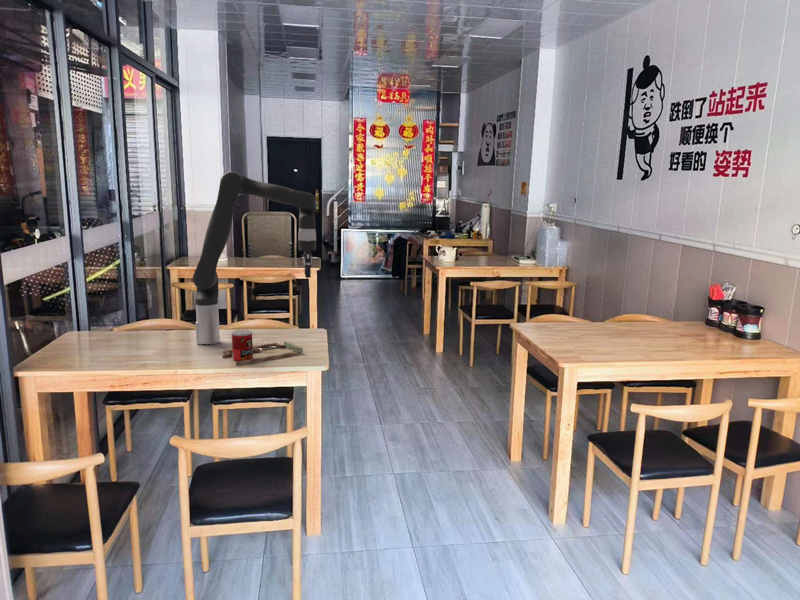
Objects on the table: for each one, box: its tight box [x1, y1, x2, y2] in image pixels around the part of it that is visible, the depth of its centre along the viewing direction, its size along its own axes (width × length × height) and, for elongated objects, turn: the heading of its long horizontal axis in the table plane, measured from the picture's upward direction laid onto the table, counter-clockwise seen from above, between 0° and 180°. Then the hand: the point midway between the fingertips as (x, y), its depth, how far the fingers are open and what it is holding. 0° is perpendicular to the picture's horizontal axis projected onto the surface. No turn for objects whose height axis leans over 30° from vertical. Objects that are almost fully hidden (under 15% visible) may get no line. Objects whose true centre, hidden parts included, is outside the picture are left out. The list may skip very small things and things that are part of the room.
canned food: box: [231, 329, 254, 362], centre depth 236 cm, size 8×8×11 cm
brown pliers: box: [221, 340, 304, 367], centre depth 244 cm, size 28×20×2 cm
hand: (307, 276), depth 263 cm, fingers open, 8 cm apart
